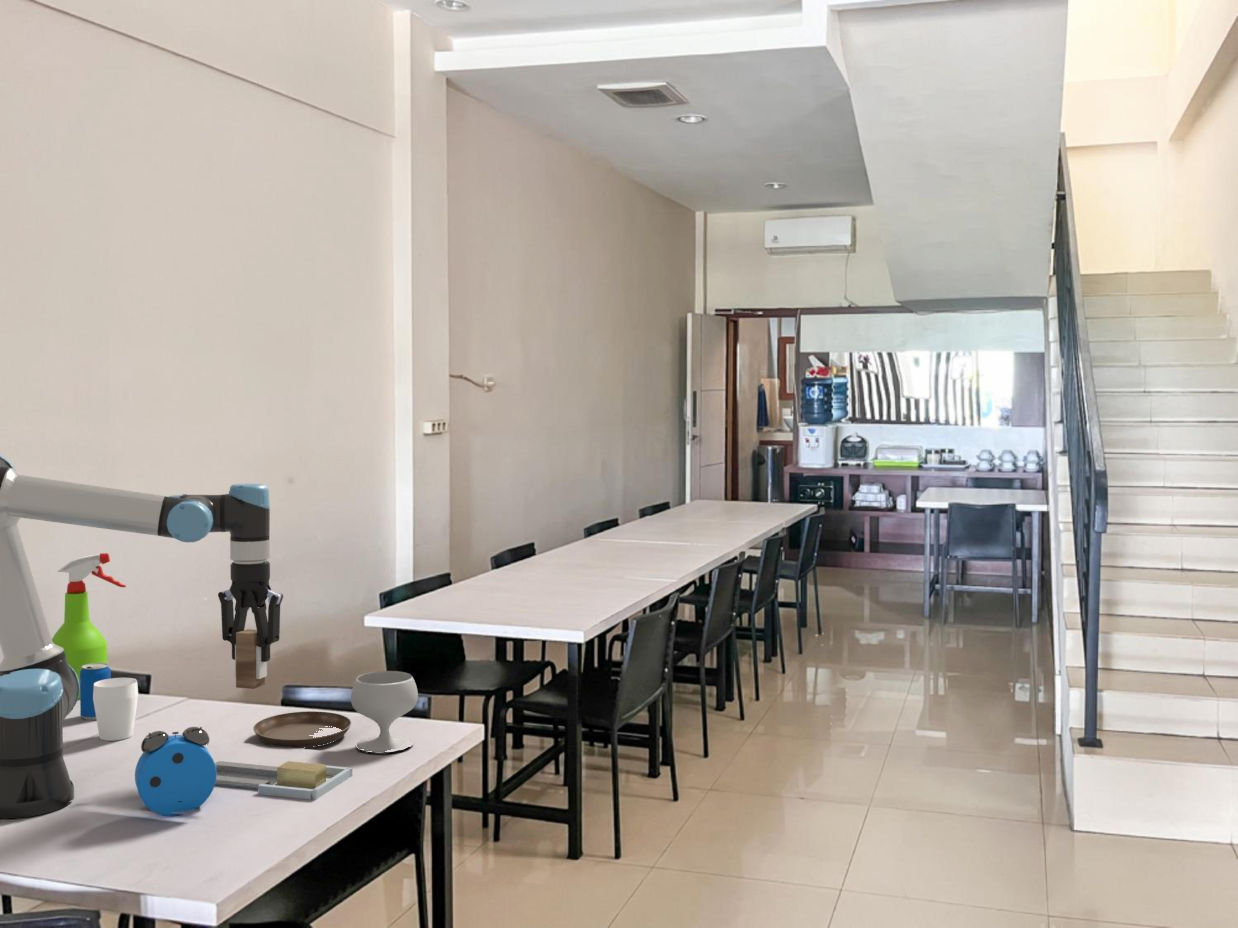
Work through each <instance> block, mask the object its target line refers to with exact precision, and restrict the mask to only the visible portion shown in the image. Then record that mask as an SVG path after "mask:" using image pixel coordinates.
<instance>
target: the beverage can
mask: <svg viewBox="0 0 1238 928" xmlns="http://www.w3.org/2000/svg"><path fill="white" fill-rule="evenodd" d="M111 671H112V670H111V668H110V667H109V663H108V664H106V663H92V664H87V665H83V666H82V670H81V671H80V700H79V705H80V708H79V709H80V711H79V713H80V716H81V717H82V718H84V720H88V721H89V720H90V721H97V719H96V713H95V707H94V701H93V690H94V683H95V682H97V681H100V680H104V679H111V678H112V677H111V675H112V672H111Z"/></svg>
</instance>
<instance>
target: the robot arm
mask: <svg viewBox="0 0 1238 928" xmlns="http://www.w3.org/2000/svg"><path fill="white" fill-rule="evenodd" d="M269 492H270V491H269V488H268V487H267V485H265V484H263V483H235V484H234V483H233V484H231V485H230V487H229V492H228V493H225V494H187V493H186V494H185V493H183V494H179V495H177V494H176V495H168V496H165V495H160V494H153V493H145V492H140V491H134V490H133V491H132V490H126V489H119V488H111V487H105V486H97V485H93V484H92V485H90V484H85V483H77V482H71V481H66V480H65V481H64V480H63V481H62V480H58V479H57V480H56V479H50V478H43V477H36V476H30V475H29V476H28V475H23V474H22V475H21V474H18V472H17V471H16V468H15V467H14V465H12V462H10V461H9V460H8V459H7V458H6V457H3V456H2V455H0V649H1V653H2V656H3V658H2V661H1V663H0V819H16V818H29V817H34V816H38V815H45V814H47V813H52V812H54V811H55V812H56V811H58V810H60V809H63V808H65V807H66V806H68V805H70V804H71V803H72V801H74V800H75V785H74V783H73V781H72V780H71V777H70V774H69V771H68V768H67V765H66V763H65V760H64V749H63V748H64V746H63V745H64V742H63V741H64V739H63V738H64V736H63V734H64V733H63V724H64V723H63V722H64V720H65V719H66V717H67V716H68V715H70V713H71V712H72V711H73V710H74V708H75V707H76V704H77V702H78V697H79V691H80V685H79V679H78V676H77V674H76V672H75V671H74V669H73V668H72V667H71V666H70V665H68V662H67V658H66V655H65V652H64V649H63V648H62V647H60V646H58V645H56V644H54V643H53V642H52V637H51V634H50V633H51V632H50V629H49V626H48V622H47V621H46V620H47V619H46V616H45V613H44V610H43V606H42V603H41V601H40V600H41V599H40V597H39V593H38V589H37V586H36V584H35V579H34V576H33V573H32V570H31V567H30V564H29V561H28V560H29V559H28V558H27V557H28V556H27V553H26V551H25V550H26V549H25V547H24V543H23V539H22V536H21V533H20V530H19V527H18V522H19V521H20V519H27V520H28V519H29V520H36V521H44V522H52V523H58V524H59V523H60V524H66V525H73V526H74V525H75V526H82V527H88V528H98V529H104V530H112V531H121V532H127V533H135V534H144V535H151V536H157V537H161V538H162V537H163V538H169V539H175V540H177V541H179V542H181V543H196V542H198V541H201V540H202V539H204V538H205V537H206V536H208V535H209V533H226V532H227V533H229V534H230V536H229V540H230V541H229V542H230V543H229V548H230V549H229V551H230V553H229V554H230V556H229V557H230V558H229V559H230V560H231V561H233V562H231V563H230V567H229V568H230V580H231V585H230V587H229V589H228V590H223V591H219V592H218V594H217V597H218V599H219V603H220V609H221V611H220V613H221V633H222V635H221V636H222V638H221V639H222V640H223V641H225V642H226V641H227V642H229V643H230V645H231V659H232V660H234V667H235V668H234V670H235V671H234V674H235V675H234V677H235V678H236V633H237V632H240V631H244V630H245V627H246V624H247V623H246V622H247V616H248V611H249V610H250V609H251V613H253V617H254V623H255V626H256V630H257V633H258V639H259V644H258V646H256V679H261V678H263V677H265V678H266V677H268V663H267V662H269V661H270V659H271V645H272V644H274V643H277V642H279V641H280V633H281V631H280V628H281V627H280V626H281V604H282V601H283V599H284V594H283V593H282V592H281V593H279V592H278V593H277V592H275V591H273V590H272V587H271V586H270V583H269V582H270V579H271V563H270V562H269V561H268V560H269V559H270V554H271V552H270V551H271V550H270V542H271V541H270V520H271V519H270V513H271V511H270V510H271V509H270V508H271V507H270V506H271V505H270V495H269V494H270V493H269ZM233 599H234V600H235V605H234V601H233ZM266 600H267V601H266ZM266 602H268V607H267V603H266ZM267 610H268V611H267ZM234 612H235V613H234ZM267 612H268V613H267Z"/></svg>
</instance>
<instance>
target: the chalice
mask: <svg viewBox="0 0 1238 928" xmlns="http://www.w3.org/2000/svg"><path fill="white" fill-rule="evenodd" d="M418 699H419V692H418V688H417V684H416V682H415V679H414V677H413V675H411V673H408V672H404V671H398V670H378V671H377V670H376V671H371V672H366V673H362V674H359V675H358V676H357V677H356V679H355V681H354V683H353V686H352V690H351V694H350V700H351V701H350V702H351V705H352V708H353V709H354V711H356V712H357V713H358V714H359V715H362V716H364V717H366V718H368V719H369V720H371V721H373V722H375V723H376V724H377V726H378V727H379V731H380V732H379V735H378V737H377V736H372V737H368V738H363V739H362V740H360V741H358V742H357V743H356V744H357V747H358V748H359V749H364V751H372V752H385V751H387V750H391V749H397V748H400V747H405V745H408V744H409V743H408V742H410V741H409V739H410V738H408V737H405V736H401V737H399V736H400V735H391V734H390V727H391V725H392V724H393V723H394V721H396V720H397V719H399V718H401V717H402V716H405V715H406V714H407V713H409V712H411V711H412V709H414V707H416V704H417V702H418ZM404 737H405V738H404ZM407 738H408V739H407Z"/></svg>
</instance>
